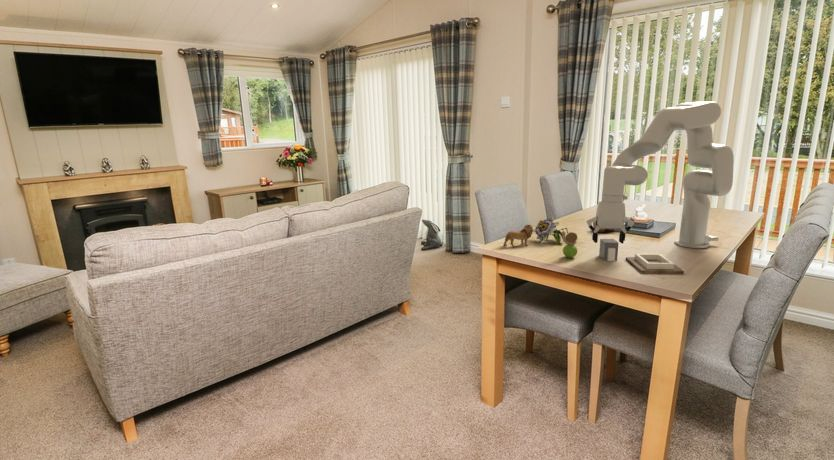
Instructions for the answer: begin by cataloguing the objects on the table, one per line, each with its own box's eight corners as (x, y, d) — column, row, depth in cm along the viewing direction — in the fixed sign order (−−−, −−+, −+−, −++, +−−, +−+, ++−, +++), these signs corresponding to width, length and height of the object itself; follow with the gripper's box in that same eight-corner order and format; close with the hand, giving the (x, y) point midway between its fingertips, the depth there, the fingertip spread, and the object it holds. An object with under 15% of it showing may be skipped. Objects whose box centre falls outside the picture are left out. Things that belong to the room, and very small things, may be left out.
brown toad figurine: (601, 234, 207) (602, 218, 205) (585, 230, 215) (586, 214, 214) (620, 231, 213) (622, 215, 211) (604, 227, 221) (605, 211, 219)
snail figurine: (557, 256, 176) (559, 227, 174) (573, 255, 177) (575, 226, 174) (563, 260, 171) (565, 230, 168) (579, 259, 172) (581, 229, 169)
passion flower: (540, 255, 199) (525, 229, 201) (558, 245, 204) (543, 220, 207) (557, 245, 188) (541, 218, 190) (576, 235, 193) (560, 209, 196)
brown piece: (664, 259, 168) (664, 252, 167) (683, 273, 153) (684, 265, 152) (625, 259, 170) (626, 252, 169) (641, 273, 154) (642, 265, 154)
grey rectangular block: (612, 255, 175) (613, 238, 173) (618, 261, 168) (619, 243, 166) (599, 255, 175) (600, 238, 174) (604, 261, 169) (605, 243, 167)
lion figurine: (528, 242, 198) (529, 222, 195) (535, 245, 193) (536, 225, 191) (499, 246, 193) (500, 226, 191) (506, 249, 188) (506, 228, 186)
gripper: (632, 197, 169) (627, 240, 173) (586, 197, 171) (582, 239, 175) (639, 200, 162) (634, 245, 166) (591, 200, 164) (587, 244, 168)
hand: (608, 242), depth 171 cm, fingers open, 9 cm apart
